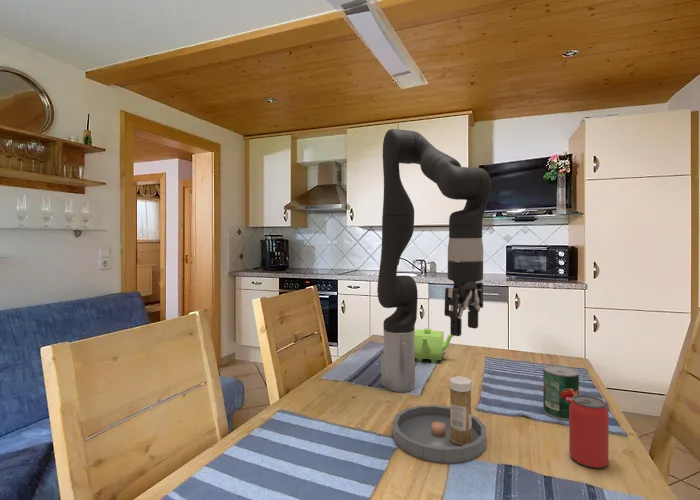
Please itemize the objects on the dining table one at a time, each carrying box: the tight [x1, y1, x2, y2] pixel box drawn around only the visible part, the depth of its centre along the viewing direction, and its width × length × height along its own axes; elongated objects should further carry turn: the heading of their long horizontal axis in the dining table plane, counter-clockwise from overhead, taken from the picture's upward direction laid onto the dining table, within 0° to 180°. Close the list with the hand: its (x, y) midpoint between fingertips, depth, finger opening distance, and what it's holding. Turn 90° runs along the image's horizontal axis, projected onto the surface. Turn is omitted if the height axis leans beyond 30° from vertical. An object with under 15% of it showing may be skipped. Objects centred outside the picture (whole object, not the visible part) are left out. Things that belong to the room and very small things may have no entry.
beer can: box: [568, 394, 610, 469], centre depth 76 cm, size 7×7×12 cm
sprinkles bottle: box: [449, 375, 473, 446], centre depth 82 cm, size 5×5×14 cm
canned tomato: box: [542, 364, 580, 421], centre depth 96 cm, size 8×8×11 cm
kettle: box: [414, 328, 455, 364], centre depth 140 cm, size 15×14×11 cm
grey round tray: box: [392, 404, 487, 464], centre depth 85 cm, size 20×20×3 cm
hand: (464, 331), depth 85 cm, fingers open, 8 cm apart
